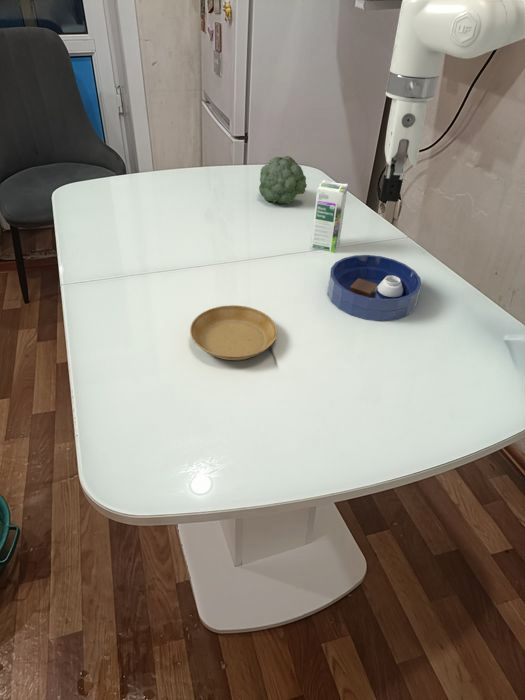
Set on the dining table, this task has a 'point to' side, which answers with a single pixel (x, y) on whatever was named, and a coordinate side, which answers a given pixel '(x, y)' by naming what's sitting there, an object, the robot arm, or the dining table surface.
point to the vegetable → (281, 180)
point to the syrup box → (328, 216)
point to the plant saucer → (233, 332)
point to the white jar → (391, 287)
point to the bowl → (376, 272)
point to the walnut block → (364, 288)
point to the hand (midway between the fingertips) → (388, 199)
